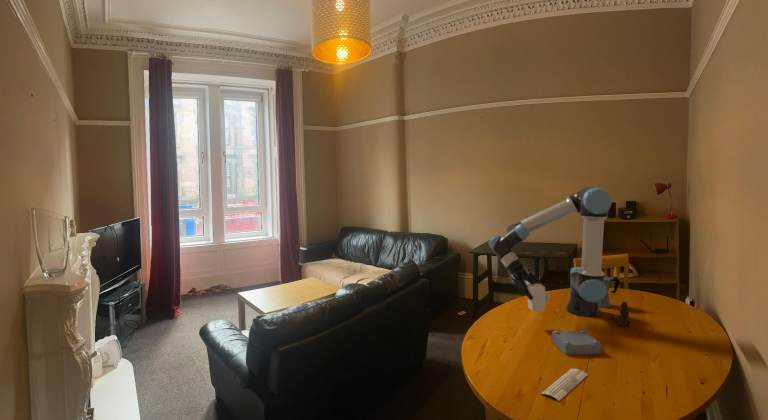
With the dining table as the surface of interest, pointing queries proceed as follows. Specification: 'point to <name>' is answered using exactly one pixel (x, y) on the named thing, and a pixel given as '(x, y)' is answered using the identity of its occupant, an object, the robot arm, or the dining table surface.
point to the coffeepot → (606, 301)
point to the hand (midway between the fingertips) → (543, 302)
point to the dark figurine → (623, 315)
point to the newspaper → (565, 384)
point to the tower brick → (537, 296)
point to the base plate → (576, 342)
